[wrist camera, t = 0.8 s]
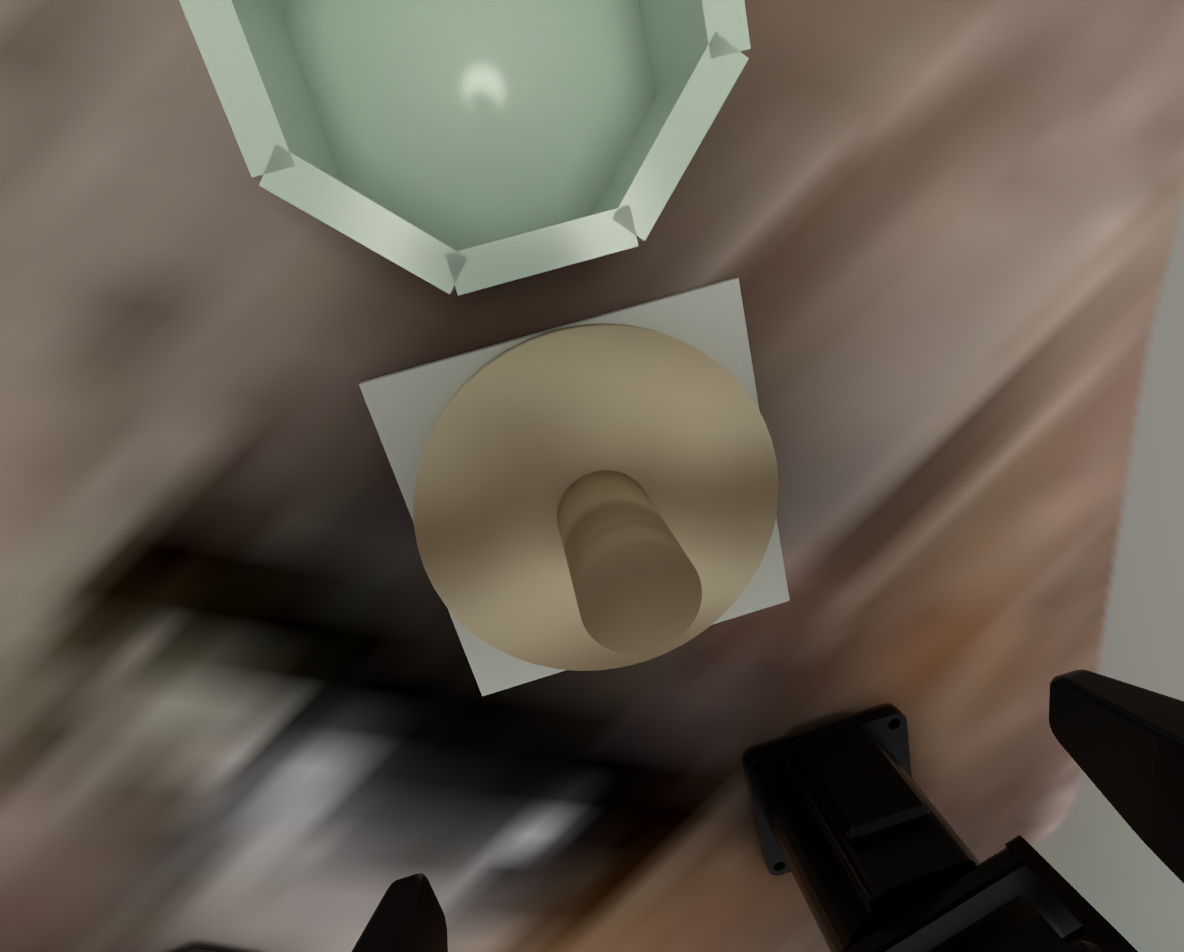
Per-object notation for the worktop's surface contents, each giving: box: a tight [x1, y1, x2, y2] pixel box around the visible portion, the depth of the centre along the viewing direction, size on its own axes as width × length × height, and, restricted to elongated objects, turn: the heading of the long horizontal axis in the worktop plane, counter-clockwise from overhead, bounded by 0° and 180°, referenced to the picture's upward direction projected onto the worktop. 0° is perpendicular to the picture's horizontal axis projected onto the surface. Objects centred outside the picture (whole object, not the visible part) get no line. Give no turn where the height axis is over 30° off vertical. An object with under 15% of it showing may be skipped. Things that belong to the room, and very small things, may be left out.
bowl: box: [179, 0, 751, 296], centre depth 13 cm, size 10×10×5 cm
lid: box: [413, 323, 779, 671], centre depth 17 cm, size 11×11×6 cm
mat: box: [359, 278, 790, 696], centre depth 19 cm, size 11×11×1 cm
